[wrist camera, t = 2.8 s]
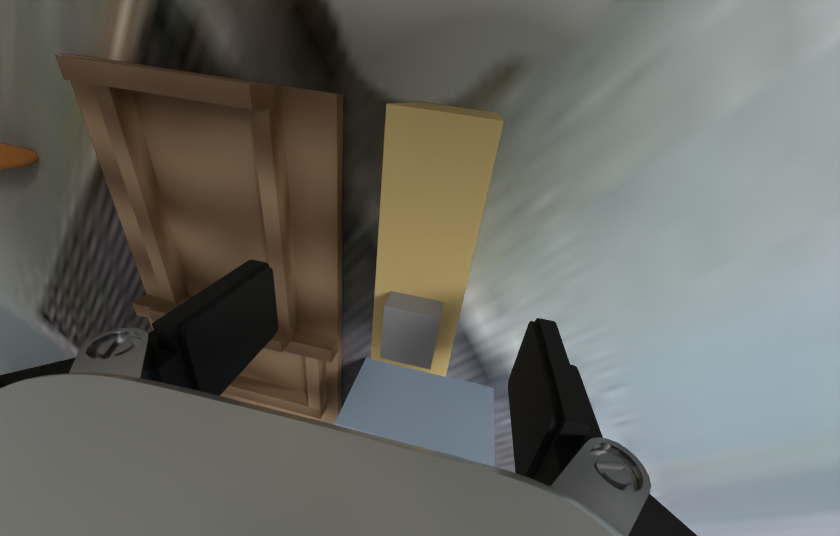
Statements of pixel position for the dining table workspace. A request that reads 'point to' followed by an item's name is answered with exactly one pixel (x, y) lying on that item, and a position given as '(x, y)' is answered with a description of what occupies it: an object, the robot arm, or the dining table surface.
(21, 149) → the toy rocket
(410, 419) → the plank
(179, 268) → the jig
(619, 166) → the dining table surface
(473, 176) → the block
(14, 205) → the dining table surface
